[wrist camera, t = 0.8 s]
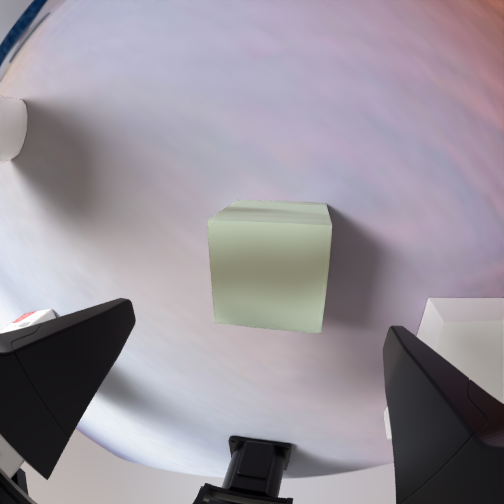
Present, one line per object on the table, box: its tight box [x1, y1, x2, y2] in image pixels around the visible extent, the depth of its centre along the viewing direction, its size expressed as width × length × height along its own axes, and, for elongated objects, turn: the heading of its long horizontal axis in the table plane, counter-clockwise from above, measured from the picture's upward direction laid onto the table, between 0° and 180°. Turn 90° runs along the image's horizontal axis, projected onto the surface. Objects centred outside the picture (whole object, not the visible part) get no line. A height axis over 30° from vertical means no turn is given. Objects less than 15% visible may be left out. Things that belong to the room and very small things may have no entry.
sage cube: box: [207, 200, 332, 333], centre depth 14 cm, size 5×5×5 cm
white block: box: [383, 298, 504, 439], centre depth 15 cm, size 12×12×3 cm
